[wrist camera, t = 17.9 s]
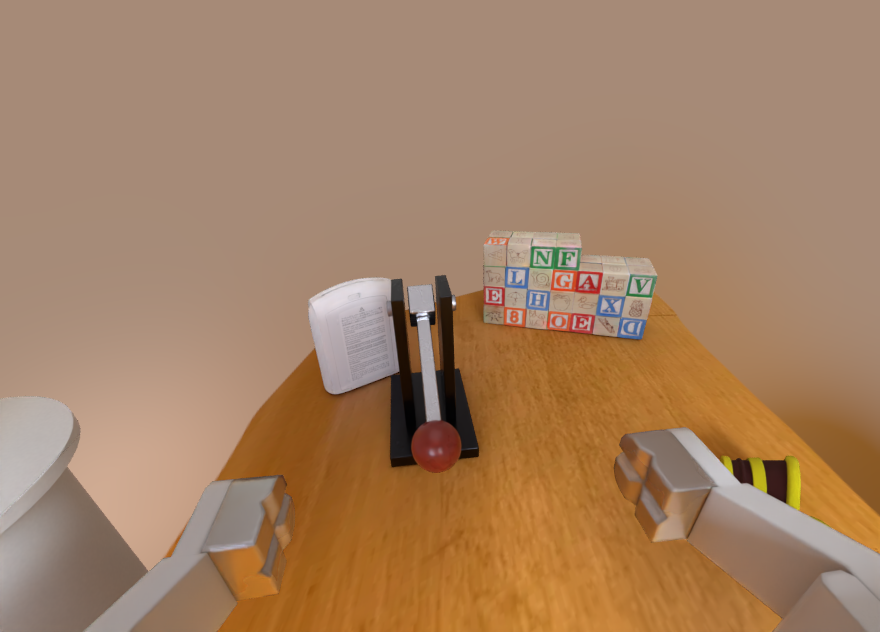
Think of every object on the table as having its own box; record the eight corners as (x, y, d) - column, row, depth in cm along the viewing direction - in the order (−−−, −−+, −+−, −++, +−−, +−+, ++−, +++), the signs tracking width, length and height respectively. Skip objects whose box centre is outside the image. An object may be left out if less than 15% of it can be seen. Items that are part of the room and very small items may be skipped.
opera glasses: (709, 481, 32) (713, 438, 30) (787, 488, 30) (797, 442, 28) (753, 609, 24) (763, 562, 22) (864, 628, 22) (886, 579, 20)
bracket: (478, 457, 35) (479, 316, 27) (391, 467, 34) (368, 326, 27) (459, 376, 45) (456, 258, 38) (392, 383, 45) (376, 265, 37)
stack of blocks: (636, 318, 55) (655, 235, 49) (642, 341, 50) (665, 252, 44) (490, 304, 61) (491, 228, 55) (482, 323, 56) (482, 242, 50)
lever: (463, 473, 28) (466, 464, 25) (414, 479, 28) (412, 471, 25) (439, 301, 36) (440, 279, 33) (401, 305, 35) (398, 282, 32)
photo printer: (397, 353, 50) (386, 265, 44) (412, 369, 47) (403, 277, 41) (320, 381, 45) (296, 288, 39) (331, 401, 42) (307, 303, 36)
